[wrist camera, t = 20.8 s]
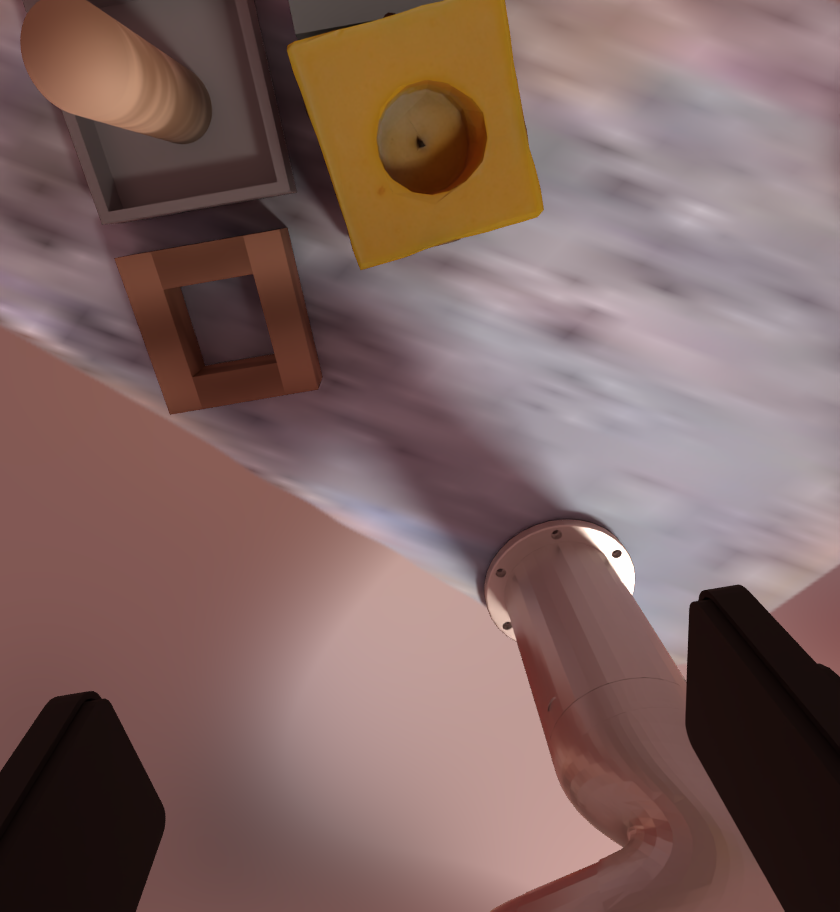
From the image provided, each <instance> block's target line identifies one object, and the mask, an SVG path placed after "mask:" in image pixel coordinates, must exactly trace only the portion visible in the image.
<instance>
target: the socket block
mask: <svg viewBox="0 0 840 912" xmlns="http://www.w3.org/2000/svg"><path fill="white" fill-rule="evenodd" d="M114 259H115V261H116V264H117V267H118V270H119V273H120V275H121V278H122V281H123V284H124V287H125V289H126V292H127V295H128V298H129V301H130V304H131V306H132V309H133V312H134V315H135V318H136V320H137V323H138V326H139V329H140V332H141V334H142V337H143V340H144V343H145V346H146V348H147V351H148V354H149V357H150V360H151V363H152V365H153V368H154V371H155V374H156V377H157V379H158V382H159V385H160V388H161V391H162V393H163V396H164V399H165V402H166V405H167V407H168V410H169V413H170V415H171V414H177V413H183V412H188V411H194V410H200V409H206V408H212V407H218V406H224V405H229V404H235V403H241V402H247V401H253V400H259V399H265V398H271V397H276V396H282V395H288V394H294V393H300V392H306V391H312V390H317V389H318V388H319V385H320V383H321V380H322V373H321V368H320V364H319V360H318V356H317V351H316V347H315V343H314V339H313V334H312V330H311V326H310V322H309V317H308V313H307V309H306V305H305V300H304V296H303V292H302V288H301V283H300V279H299V275H298V271H297V267H296V262H295V258H294V254H293V250H292V245H291V241H290V237H289V233H288V228H282V229H276V230H271V231H265V232H259V233H253V234H248V235H242V236H236V237H230V238H225V239H219V240H213V241H208V242H202V243H196V244H190V245H185V246H179V247H173V248H167V249H162V250H156V251H150V252H145V253H139V254H133V255H128V256H123V257H118V258H114ZM250 274H253V275H254V279H255V283H256V286H257V290H258V294H259V298H260V301H261V305H262V309H263V313H264V316H265V320H266V324H267V328H268V332H269V335H270V339H271V343H272V347H273V350H274V354H270V355H264V356H258V357H252V358H246V359H241V360H235V361H229V362H223V363H217V364H211V365H206V366H205V363H204V360H203V357H202V354H201V351H200V348H199V344H198V341H197V338H196V335H195V332H194V329H193V326H192V322H191V319H190V316H189V313H188V310H187V307H186V304H185V300H184V297H183V294H182V291H181V288H180V287H181V286H187V285H193V284H198V283H204V282H210V281H216V280H221V279H227V278H233V277H239V276H245V275H250Z"/></svg>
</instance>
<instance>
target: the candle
mask: <svg viewBox="0 0 840 912" xmlns="http://www.w3.org/2000/svg"><path fill="white" fill-rule="evenodd" d="M287 52H288V56H289V59H290V63H291V66H292V69H293V73H294V75H295V78H296V80H297V83H298V86H299V88H300V91H301V93H302V97H303V101H304V105H305V109H306V112H307V114H308V117H309V119H310V121H311V123H312V126H313V128H314V131H315V133H316V136H317V139H318V141H319V144H320V147H321V150H322V153H323V156H324V159H325V162H326V166H327V169H328V172H329V175H330V178H331V181H332V184H333V187H334V190H335V193H336V196H337V199H338V202H339V205H340V209H341V212H342V214H343V217H344V220H345V223H346V226H347V229H348V233H349V237H350V241H351V245H352V249H353V252H354V254H355V257H356V260H357V262H358V265H359V267H360V270H363V269H366V268H370V267H374V266H377V265H381V264H384V263H387V262H391V261H394V260H398V259H401V258H405V257H407V256H410V255H412V254H415V253H417V252H420V251H422V250H425V249H427V248H431V247H434V246H439V245H443V244H447V243H451V242H454V241H457V240H459V239H461V238H464V237H469V236H473V235H477V234H481V233H485V232H489V231H492V230H495V229H498V228H502V227H505V226H509V225H512V224H516V223H520V222H523V221H526V220H529V219H533V218H536V217H538V216H539V215H540V214H541V212H542V211H543V210H544V208H543V201H542V195H541V189H540V185H539V181H538V177H537V173H536V169H535V165H534V162H533V159H532V155H531V152H530V149H529V144H528V136H527V129H526V125H525V121H524V116H523V110H522V104H521V99H520V93H519V88H518V83H517V78H516V72H515V67H514V62H513V54H512V46H511V38H510V30H509V24H508V18H507V11H506V5H505V0H444V1H440V2H435V3H431V4H426V5H422V6H419V7H416V8H413V9H410V10H407V11H404V12H401V13H398V14H395V13H390V12H388V13H387V14H385V15H384V17H383V18H382V19H378V20H375V21H372V22H368V23H364V24H360V25H356V26H352V27H348V28H343V29H337V30H333V31H330V32H326V33H323V34H320V35H316V36H313V37H309V38H305V39H301V40H298V41H294V42H292V43H291V44H289V45H287Z"/></svg>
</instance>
